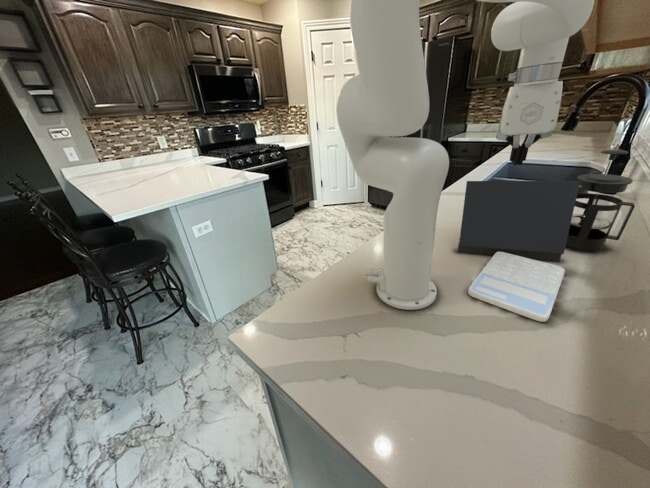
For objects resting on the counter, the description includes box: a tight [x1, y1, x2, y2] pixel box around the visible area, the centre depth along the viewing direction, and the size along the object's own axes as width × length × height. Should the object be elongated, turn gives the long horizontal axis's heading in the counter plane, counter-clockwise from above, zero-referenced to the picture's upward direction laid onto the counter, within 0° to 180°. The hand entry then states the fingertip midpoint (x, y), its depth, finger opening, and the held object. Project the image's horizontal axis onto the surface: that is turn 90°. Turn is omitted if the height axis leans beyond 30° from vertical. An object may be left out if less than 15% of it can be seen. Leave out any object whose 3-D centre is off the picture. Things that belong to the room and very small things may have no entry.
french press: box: [565, 149, 636, 253], centre depth 61 cm, size 12×9×23 cm
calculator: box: [467, 252, 566, 323], centre depth 55 cm, size 13×20×2 cm, turn 135°
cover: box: [458, 180, 581, 255], centre depth 62 cm, size 22×16×1 cm
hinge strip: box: [457, 243, 563, 262], centre depth 65 cm, size 22×1×2 cm, turn 68°
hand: (516, 163), depth 64 cm, fingers closed
